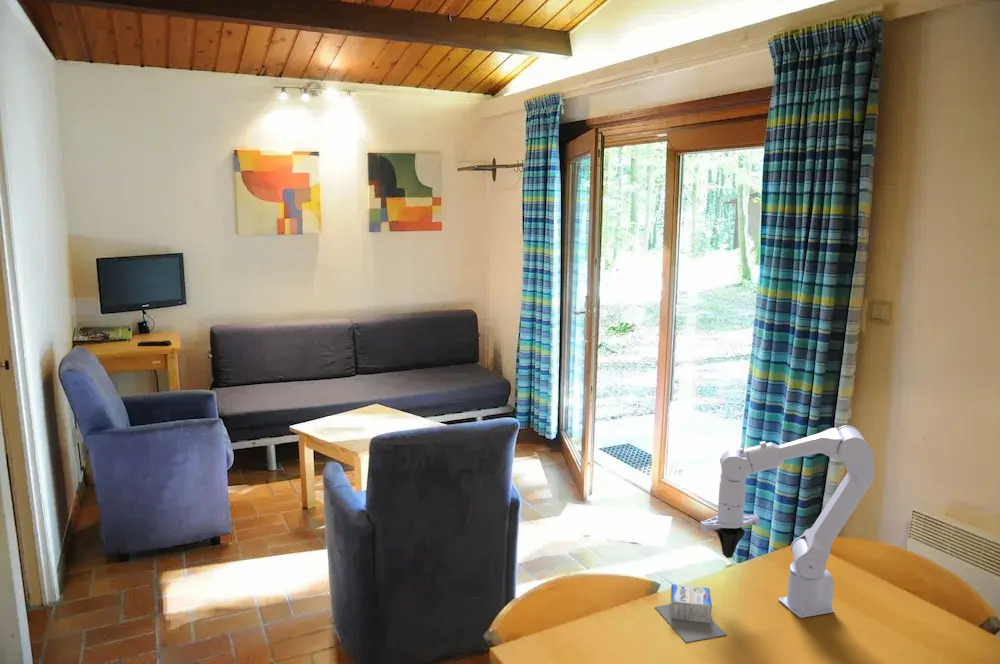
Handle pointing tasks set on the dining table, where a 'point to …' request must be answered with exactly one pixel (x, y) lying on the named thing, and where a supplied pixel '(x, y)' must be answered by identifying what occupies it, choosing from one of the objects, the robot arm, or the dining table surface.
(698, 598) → the medicine box
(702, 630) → the grey mat
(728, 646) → the dining table surface
